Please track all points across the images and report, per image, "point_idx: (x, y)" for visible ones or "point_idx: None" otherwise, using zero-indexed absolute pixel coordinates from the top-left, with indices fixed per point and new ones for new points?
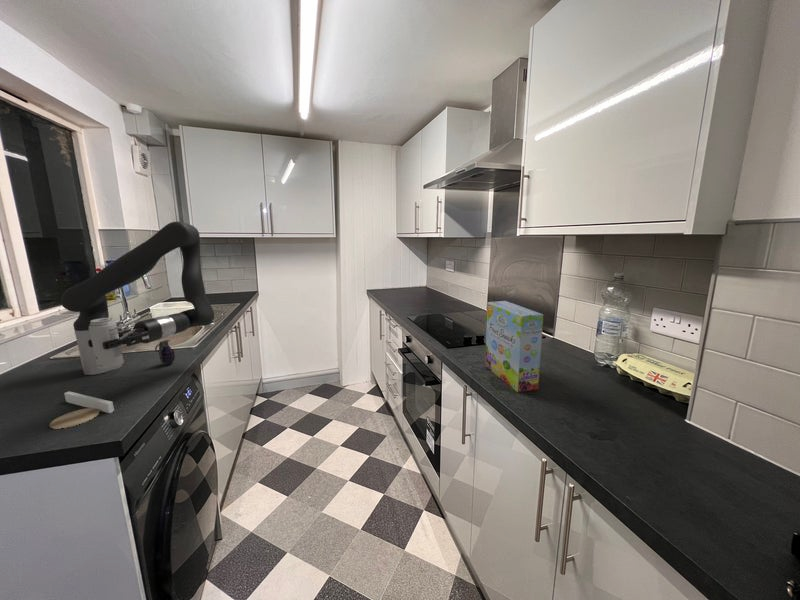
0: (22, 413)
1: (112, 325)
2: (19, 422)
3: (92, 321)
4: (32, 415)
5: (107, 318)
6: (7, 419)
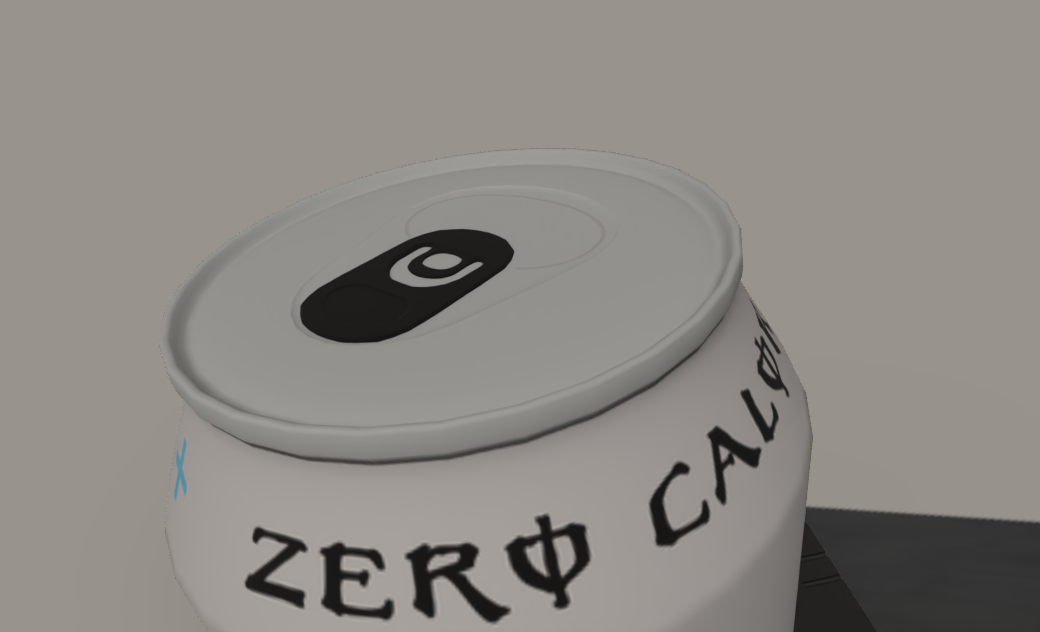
0: (995, 569)
1: (165, 529)
2: (836, 544)
3: (501, 170)
4: (906, 594)
5: (505, 350)
6: (942, 518)
